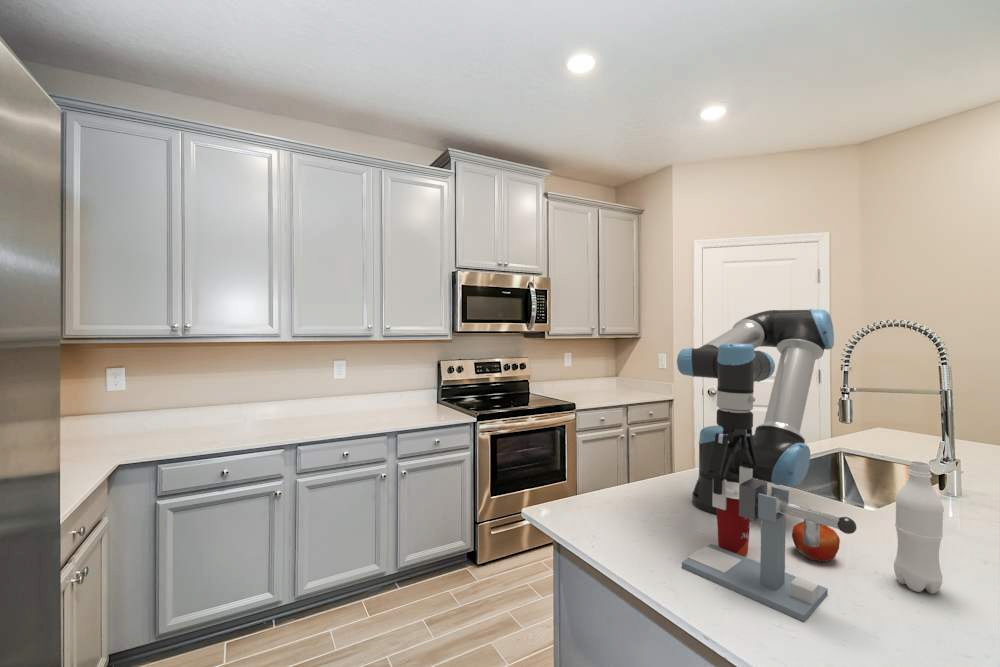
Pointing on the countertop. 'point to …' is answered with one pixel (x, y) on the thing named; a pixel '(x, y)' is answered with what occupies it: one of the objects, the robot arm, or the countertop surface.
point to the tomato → (826, 543)
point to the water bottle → (919, 531)
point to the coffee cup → (733, 523)
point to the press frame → (761, 567)
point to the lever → (790, 512)
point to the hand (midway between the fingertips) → (732, 501)
